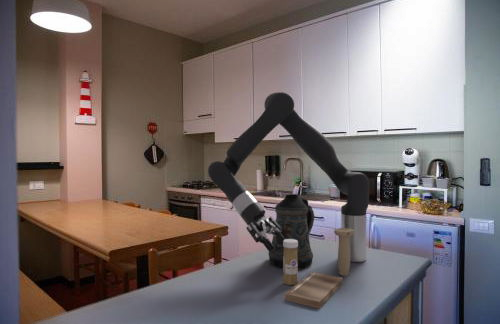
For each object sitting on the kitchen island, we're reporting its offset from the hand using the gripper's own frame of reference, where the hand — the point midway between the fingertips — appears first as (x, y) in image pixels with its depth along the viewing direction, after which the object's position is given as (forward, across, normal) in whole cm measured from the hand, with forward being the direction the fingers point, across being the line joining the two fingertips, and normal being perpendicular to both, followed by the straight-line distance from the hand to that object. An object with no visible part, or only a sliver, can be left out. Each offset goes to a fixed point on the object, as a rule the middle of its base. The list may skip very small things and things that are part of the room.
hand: (279, 246), depth 107 cm
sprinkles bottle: (+11, 0, +5) cm, 12 cm away
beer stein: (+4, +20, +11) cm, 23 cm away
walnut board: (+17, -2, -2) cm, 17 cm away
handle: (+19, +16, -4) cm, 25 cm away
